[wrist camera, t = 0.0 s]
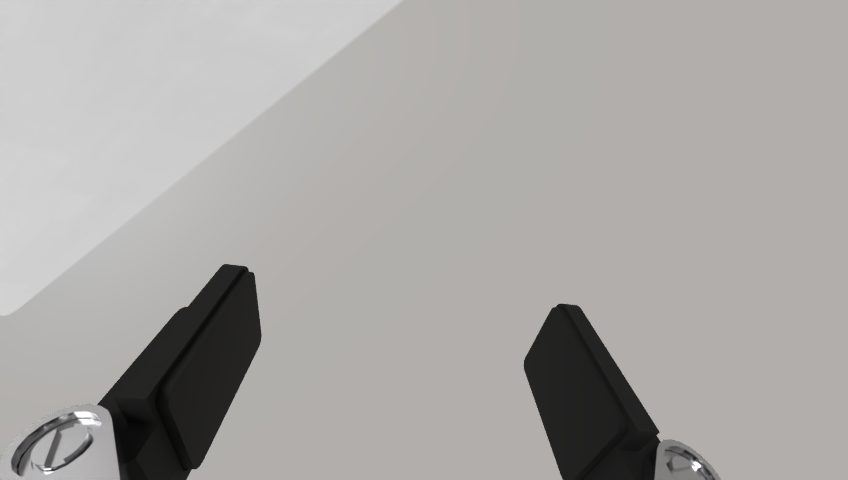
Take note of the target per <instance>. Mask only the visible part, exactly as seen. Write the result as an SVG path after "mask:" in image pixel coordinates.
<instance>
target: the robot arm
mask: <svg viewBox="0 0 848 480" xmlns="http://www.w3.org/2000/svg"><path fill="white" fill-rule="evenodd" d="M260 342H261V327H260V319H259V310H258V301H257V293H256V284H255V276H254V273H253V272H249V271H248V268H247V267H245V266H237V265H229V264H224V265H223V266H221V267H220V269H219V270H218V271H217V272H216V273H215V275H214V276H213V277H212V278H211V279H210V281H209V282H208V283H207V284H206V286H205V287H204V288H203V289H202V290H201V292H200V293H199V294H198V295H197V296H196V298H195V299H194V300H193V302H191V304H190V305H189V306H188V307H184V308H181V309H180V310H179V311H177V313H175V314H174V316H173V317H172V318H171V319H170V320H169V321H168V323H167V324H166V325H165V326H164V327H163V328H162V330H161V331H160V332H159V333H158V334H157V336H156V337H155V338H154V339H153V340H152V341H151V343H150V344H149V345H148V346H147V347H146V349H144V351H143V352H142V353H141V354H140V355H139V356H138V358H137V359H136V360H135V361H134V362H133V363H132V365H131V366H130V367H129V368H128V369H127V370H126V372H125V373H124V374H123V375H122V376H121V377H120V379H119V380H118V381H117V382H116V383H115V385H114V386H113V387H112V388H111V389H110V390H109V392H108V393H107V394H106V395H105V396H104V397H103V399H102V400H101V401H100V402H99V403H98V404H97V405H93V404H84V405H75V406H71V407H68V408H65V409H62V410H59V411H56V412H54V413H52V414H50V415H48V416H46V417H44V418H42V419H40V420H39V421H37V422H36V423H34V424H33V425H32V426H30V427H28V428H27V429H25V430H24V431H23V432H22V433H21V434H20V435H19V436H18V437H17V438H15V439H14V440H13V441H12V442H11V443H10V445H9V446H8V447H7V449H6V450H5V451H4V453H3V454H2V456H1V458H0V480H186V479H187V477H188V475H189V473H190V471H191V469H197V468H198V467H199V466H200V465H201V463H202V462H203V460H204V458H205V455H206V454H207V451H208V450H209V447H210V446H211V444H212V441H213V439H214V437H215V435H216V433H217V431H218V429H219V427H220V425H221V423H222V421H223V419H224V417H225V415H226V413H227V411H228V409H229V407H230V405H231V403H232V401H233V399H234V397H235V394H236V392H237V390H238V388H239V386H240V384H241V382H242V380H243V378H244V376H245V374H246V372H247V370H248V368H249V366H250V364H251V362H252V360H253V358H254V356H255V354H256V351H257V350H258V347H259V345H260ZM524 370H525V373H526V376H527V379H528V382H529V385H530V388H531V390H532V393H533V396H534V399H535V402H536V405H537V408H538V410H539V413H540V416H541V419H542V422H543V425H544V428H545V430H546V434H547V436H548V439H549V442H550V445H551V448H552V451H553V453H554V456H555V459H556V462H557V465H558V468H559V471H560V474H561V476H562V479H563V480H721V479H720V477H719V476H718V474H717V473H716V472H715V470H714V469H713V468H712V467H711V465H710V464H709V463H708V462H707V461H706V460H705V459H704V458H703V457H702V456H701V455H700V454H698V453H697V452H696V451H694V450H693V449H692V448H690V447H689V446H686V445H685V444H683V443H681V442H678V441H675V440H663V441H662V442H660V440H659V439H658V437H657V436H656V435H657V434H658V433H659V430H658V429H657V428H656V426H655V424H654V423H653V421H652V419H651V418H650V416H649V415H648V413H647V412H646V410H645V409H644V407H643V405H642V404H641V402H640V401H639V399H638V397H637V396H636V394H635V393H634V391H633V390H632V388H631V386H630V385H629V383H628V382H627V380H626V379H625V377H624V375H623V374H622V372H621V371H620V369H619V368H618V366H617V364H616V363H615V361H614V360H613V358H612V357H611V355H610V354H609V352H608V350H607V349H606V347H605V346H604V344H603V343H602V341H601V340H600V338H599V336H598V335H597V333H596V332H595V330H594V328H593V327H592V325H591V324H590V322H589V321H588V319H587V318H586V316H585V314H584V313H583V311H582V310H581V308H580V307H579V306H577V305H569V304H558V305H557V306H556V307H555V308H552V310H551V311H550V313H549V315H548V317H547V318H546V320H545V322H544V324H543V326H542V328H541V330H540V332H539V334H538V335H537V337H536V339H535V341H534V343H533V345H532V347H531V348H530V350H529V352H528V354H527V356H526V358H525V360H524Z"/></svg>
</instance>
